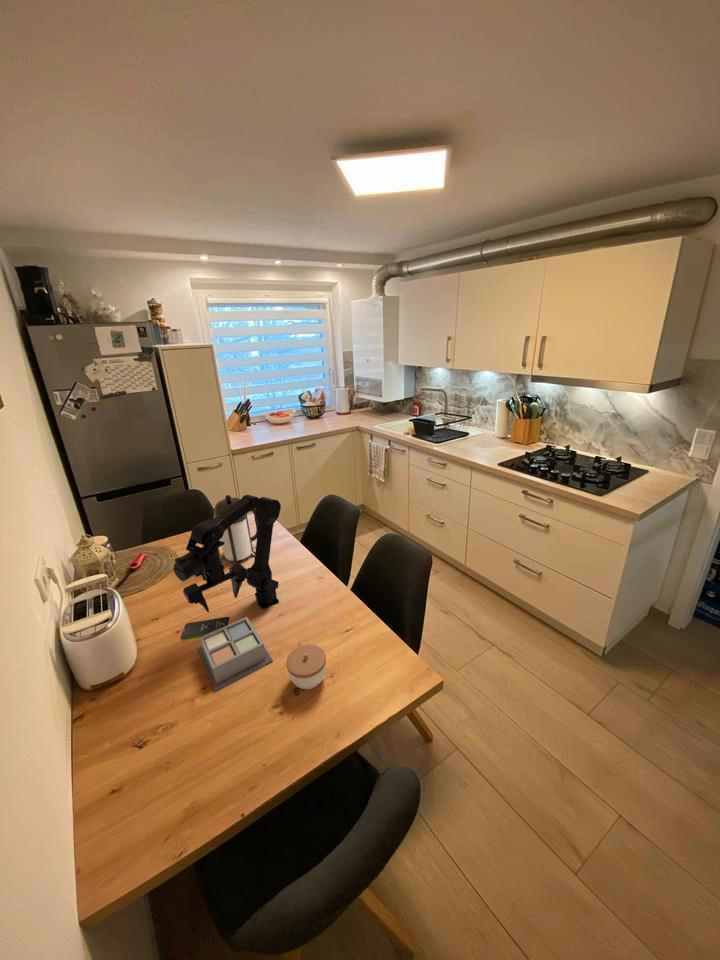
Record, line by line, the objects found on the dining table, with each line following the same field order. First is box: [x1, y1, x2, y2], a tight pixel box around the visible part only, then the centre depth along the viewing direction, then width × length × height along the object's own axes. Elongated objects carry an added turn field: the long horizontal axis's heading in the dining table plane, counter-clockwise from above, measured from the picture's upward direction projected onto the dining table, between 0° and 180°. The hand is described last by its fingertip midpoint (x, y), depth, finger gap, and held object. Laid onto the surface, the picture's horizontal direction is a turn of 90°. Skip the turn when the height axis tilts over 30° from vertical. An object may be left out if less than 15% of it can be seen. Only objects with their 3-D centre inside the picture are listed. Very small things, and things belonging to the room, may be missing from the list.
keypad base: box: [197, 616, 273, 692], centre depth 115 cm, size 17×19×6 cm
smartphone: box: [180, 616, 231, 640], centre depth 128 cm, size 8×1×15 cm
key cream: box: [205, 632, 228, 650], centre depth 116 cm, size 6×6×3 cm
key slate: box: [228, 622, 250, 639], centre depth 120 cm, size 6×6×3 cm
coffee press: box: [213, 494, 259, 566], centre depth 166 cm, size 17×16×30 cm
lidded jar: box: [285, 643, 327, 691], centre depth 105 cm, size 11×11×9 cm
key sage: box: [235, 635, 258, 653], centre depth 114 cm, size 6×6×3 cm
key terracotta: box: [211, 645, 235, 665], centre depth 111 cm, size 6×6×3 cm
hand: (222, 604), depth 122 cm, fingers open, 9 cm apart
